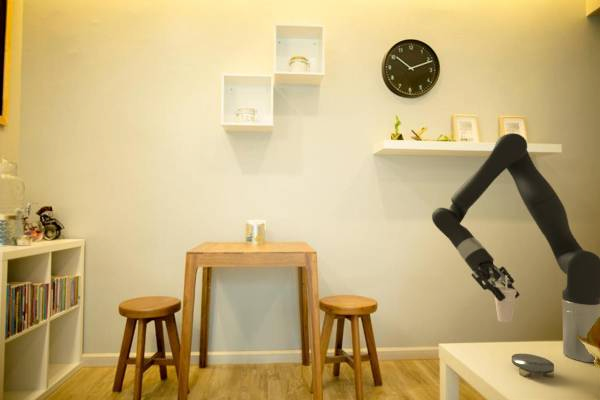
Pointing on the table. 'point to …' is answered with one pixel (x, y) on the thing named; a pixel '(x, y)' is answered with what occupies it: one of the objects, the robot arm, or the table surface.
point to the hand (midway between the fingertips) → (509, 298)
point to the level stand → (533, 365)
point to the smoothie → (506, 304)
